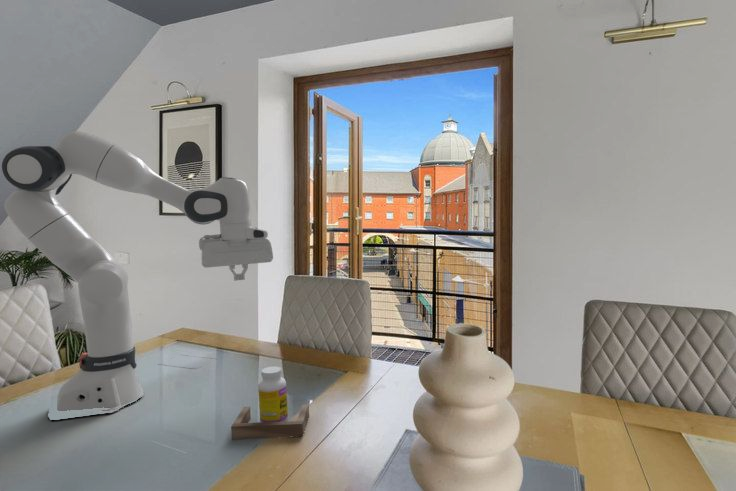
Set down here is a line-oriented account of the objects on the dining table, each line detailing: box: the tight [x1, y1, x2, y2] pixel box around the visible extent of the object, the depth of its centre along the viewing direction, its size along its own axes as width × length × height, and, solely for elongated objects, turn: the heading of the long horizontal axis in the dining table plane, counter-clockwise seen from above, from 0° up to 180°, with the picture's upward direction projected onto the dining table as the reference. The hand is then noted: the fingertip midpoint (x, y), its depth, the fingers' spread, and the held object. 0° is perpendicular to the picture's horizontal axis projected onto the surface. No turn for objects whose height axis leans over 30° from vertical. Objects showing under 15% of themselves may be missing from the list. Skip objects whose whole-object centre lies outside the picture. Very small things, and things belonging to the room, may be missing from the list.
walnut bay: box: [230, 403, 310, 440], centre depth 104 cm, size 10×16×3 cm, turn 90°
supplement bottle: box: [257, 365, 289, 422], centre depth 106 cm, size 7×7×13 cm
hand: (239, 280), depth 130 cm, fingers closed
